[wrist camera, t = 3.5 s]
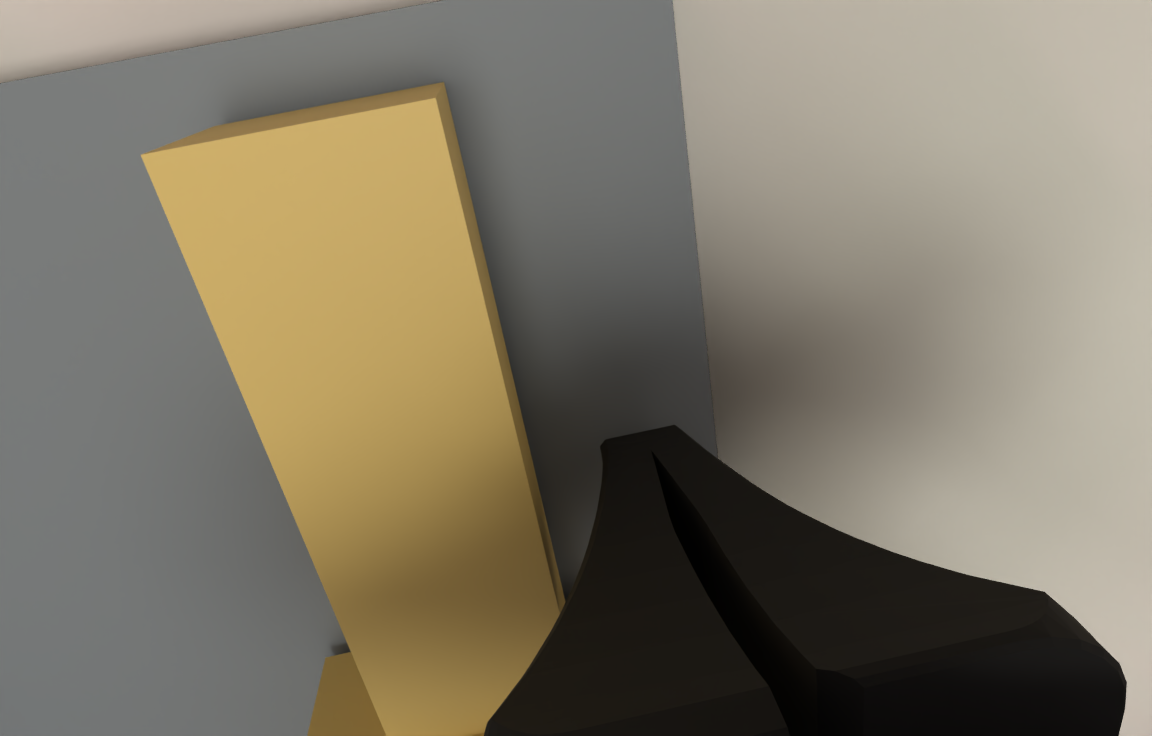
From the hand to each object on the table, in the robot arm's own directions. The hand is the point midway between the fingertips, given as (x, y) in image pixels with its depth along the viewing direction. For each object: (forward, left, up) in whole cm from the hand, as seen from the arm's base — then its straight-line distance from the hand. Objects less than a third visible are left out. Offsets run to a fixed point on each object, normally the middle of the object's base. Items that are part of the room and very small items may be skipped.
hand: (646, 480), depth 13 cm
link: (-1, +4, -1) cm, 4 cm away
